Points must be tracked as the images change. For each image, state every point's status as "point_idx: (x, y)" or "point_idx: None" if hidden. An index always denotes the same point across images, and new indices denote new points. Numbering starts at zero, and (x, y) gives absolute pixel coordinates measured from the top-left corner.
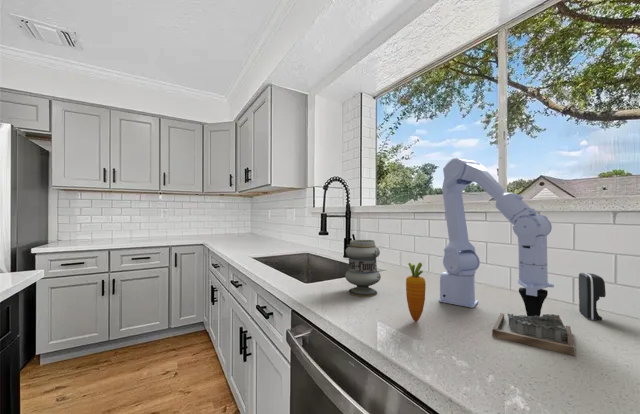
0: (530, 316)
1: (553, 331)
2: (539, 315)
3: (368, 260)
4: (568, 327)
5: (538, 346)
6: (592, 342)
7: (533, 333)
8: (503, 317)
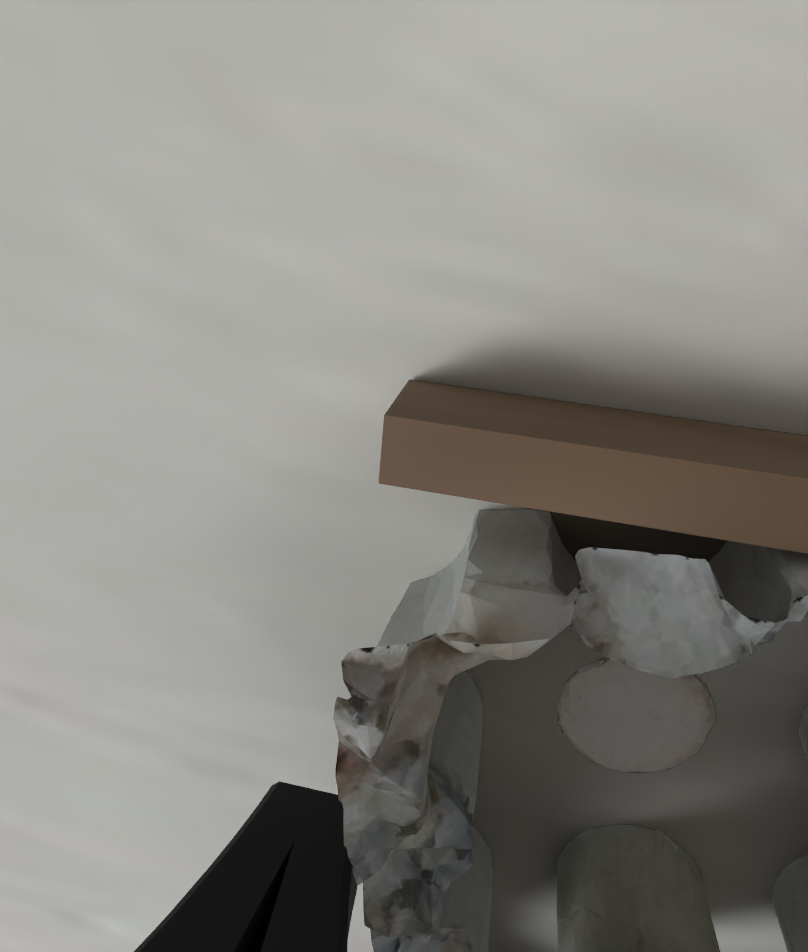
0: (375, 935)
1: None
2: (348, 882)
3: None
4: (488, 462)
5: None
6: (774, 98)
7: None
8: None
